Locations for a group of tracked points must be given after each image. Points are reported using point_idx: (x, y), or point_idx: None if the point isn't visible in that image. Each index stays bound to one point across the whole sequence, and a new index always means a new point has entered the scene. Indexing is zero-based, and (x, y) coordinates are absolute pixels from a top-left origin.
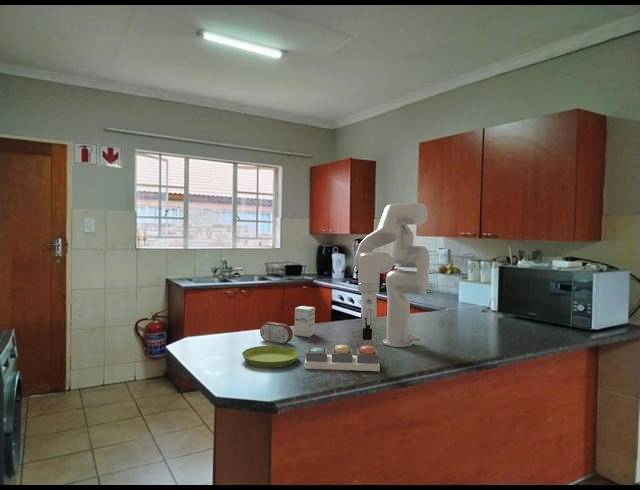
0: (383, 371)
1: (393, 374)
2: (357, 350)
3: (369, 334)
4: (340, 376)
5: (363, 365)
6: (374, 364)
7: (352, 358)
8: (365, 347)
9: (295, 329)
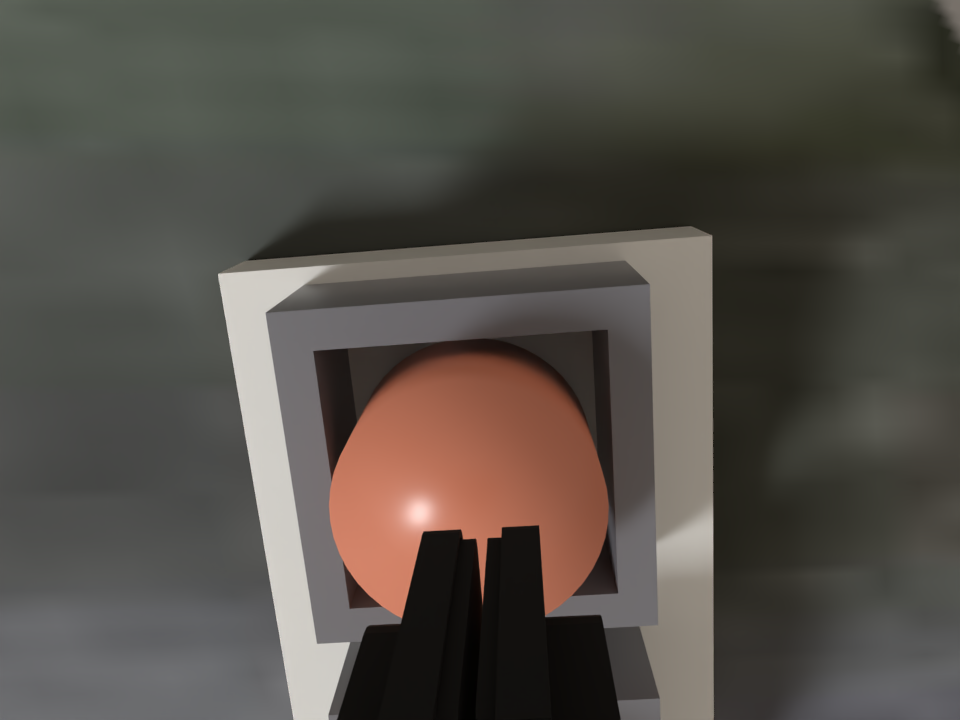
0: (694, 169)
1: (817, 20)
2: None
3: (606, 669)
4: (937, 683)
5: (709, 467)
6: (676, 316)
7: None
8: None
9: None
